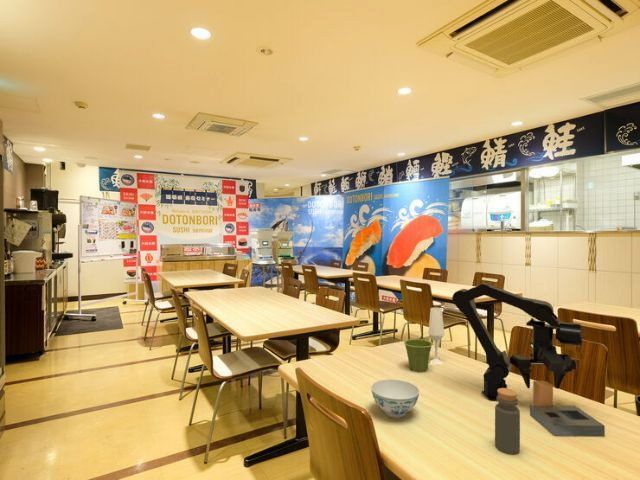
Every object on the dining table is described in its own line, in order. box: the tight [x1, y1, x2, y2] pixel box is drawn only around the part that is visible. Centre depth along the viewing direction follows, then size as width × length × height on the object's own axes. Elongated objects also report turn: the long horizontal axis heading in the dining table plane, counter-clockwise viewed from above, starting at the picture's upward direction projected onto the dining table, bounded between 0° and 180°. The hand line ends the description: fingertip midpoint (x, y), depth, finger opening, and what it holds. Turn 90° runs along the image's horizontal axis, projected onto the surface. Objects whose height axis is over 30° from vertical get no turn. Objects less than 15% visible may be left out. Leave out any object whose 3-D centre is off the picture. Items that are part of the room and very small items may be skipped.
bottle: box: [494, 387, 521, 455], centre depth 95 cm, size 6×6×15 cm
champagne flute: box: [427, 307, 445, 364], centre depth 160 cm, size 7×7×24 cm
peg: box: [532, 380, 554, 406], centre depth 118 cm, size 4×4×8 cm
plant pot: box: [403, 338, 434, 373], centre depth 152 cm, size 12×12×11 cm
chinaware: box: [370, 378, 420, 419], centre depth 115 cm, size 15×15×8 cm
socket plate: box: [529, 404, 606, 437], centre depth 107 cm, size 14×12×3 cm
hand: (542, 388), depth 118 cm, fingers open, 9 cm apart
